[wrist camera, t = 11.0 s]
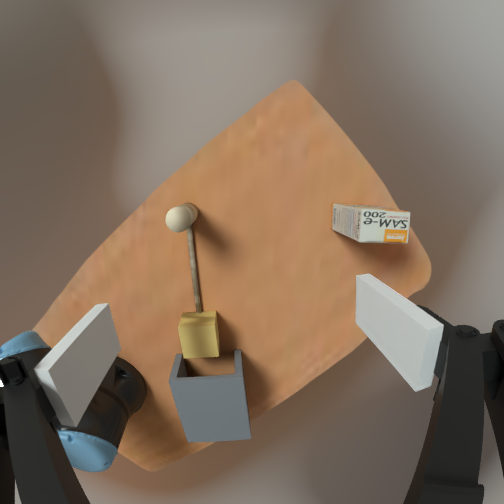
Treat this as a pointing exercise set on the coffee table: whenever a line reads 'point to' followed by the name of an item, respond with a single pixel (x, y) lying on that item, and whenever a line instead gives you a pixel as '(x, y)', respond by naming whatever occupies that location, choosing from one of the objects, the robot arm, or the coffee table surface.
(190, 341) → the cream headed mallet
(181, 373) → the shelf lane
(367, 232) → the supplement box
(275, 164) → the coffee table surface
